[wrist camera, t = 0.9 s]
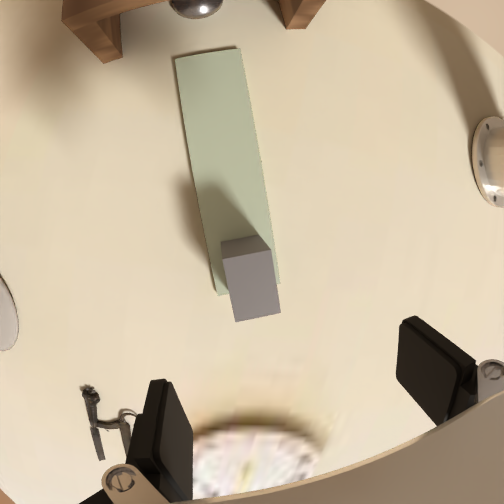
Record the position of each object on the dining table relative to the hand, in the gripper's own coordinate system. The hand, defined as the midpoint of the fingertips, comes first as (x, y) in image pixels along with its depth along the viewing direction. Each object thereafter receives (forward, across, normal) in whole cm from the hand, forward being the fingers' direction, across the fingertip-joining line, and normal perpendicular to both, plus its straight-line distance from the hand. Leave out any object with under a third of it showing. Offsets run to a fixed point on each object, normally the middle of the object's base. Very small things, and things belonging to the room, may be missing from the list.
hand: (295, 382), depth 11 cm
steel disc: (+19, 0, -27) cm, 33 cm away
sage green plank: (+19, 0, -8) cm, 21 cm away
